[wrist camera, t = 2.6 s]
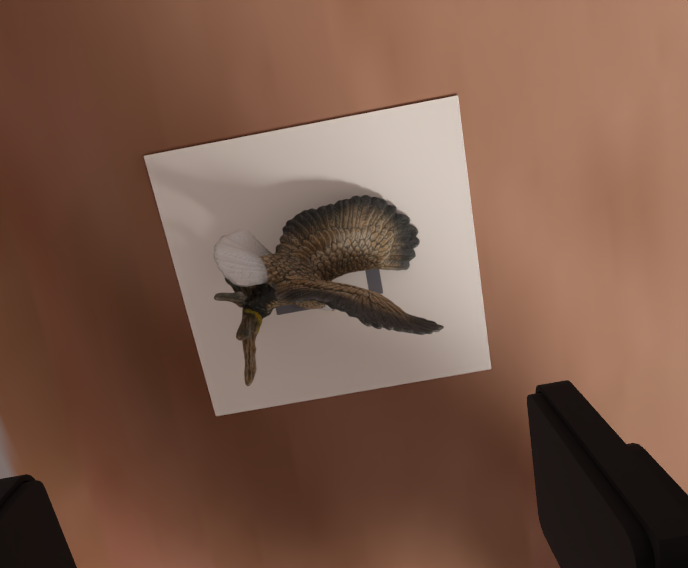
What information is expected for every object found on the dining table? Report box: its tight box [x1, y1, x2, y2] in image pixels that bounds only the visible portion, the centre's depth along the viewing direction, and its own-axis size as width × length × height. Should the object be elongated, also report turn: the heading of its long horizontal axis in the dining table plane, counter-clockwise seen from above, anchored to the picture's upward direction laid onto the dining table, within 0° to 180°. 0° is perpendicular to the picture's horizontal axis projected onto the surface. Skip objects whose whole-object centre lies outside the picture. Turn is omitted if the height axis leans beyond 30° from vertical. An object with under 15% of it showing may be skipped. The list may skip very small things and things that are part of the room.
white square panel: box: [144, 95, 491, 416], centre depth 28 cm, size 15×14×1 cm
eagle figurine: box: [214, 195, 444, 386], centre depth 25 cm, size 8×7×9 cm
